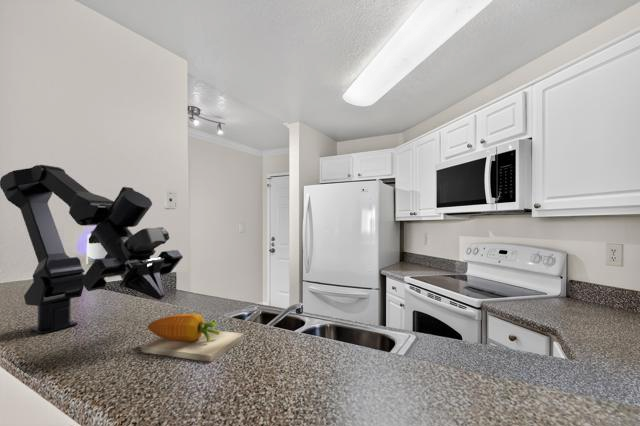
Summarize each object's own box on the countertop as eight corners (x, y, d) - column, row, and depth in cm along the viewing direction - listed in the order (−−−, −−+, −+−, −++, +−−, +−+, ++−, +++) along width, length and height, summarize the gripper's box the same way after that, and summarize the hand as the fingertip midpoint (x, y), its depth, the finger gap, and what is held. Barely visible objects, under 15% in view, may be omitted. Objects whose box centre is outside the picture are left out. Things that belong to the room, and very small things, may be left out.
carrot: (160, 329, 60) (226, 330, 57) (141, 346, 55) (213, 348, 53) (153, 307, 59) (221, 308, 56) (134, 323, 54) (207, 324, 51)
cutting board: (141, 352, 53) (141, 346, 53) (183, 332, 62) (183, 327, 62) (210, 361, 48) (210, 355, 48) (244, 338, 58) (244, 333, 58)
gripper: (93, 213, 52) (141, 278, 48) (175, 215, 69) (215, 262, 65) (62, 258, 54) (106, 324, 50) (150, 249, 71) (187, 297, 68)
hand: (161, 297), depth 58 cm, fingers closed
